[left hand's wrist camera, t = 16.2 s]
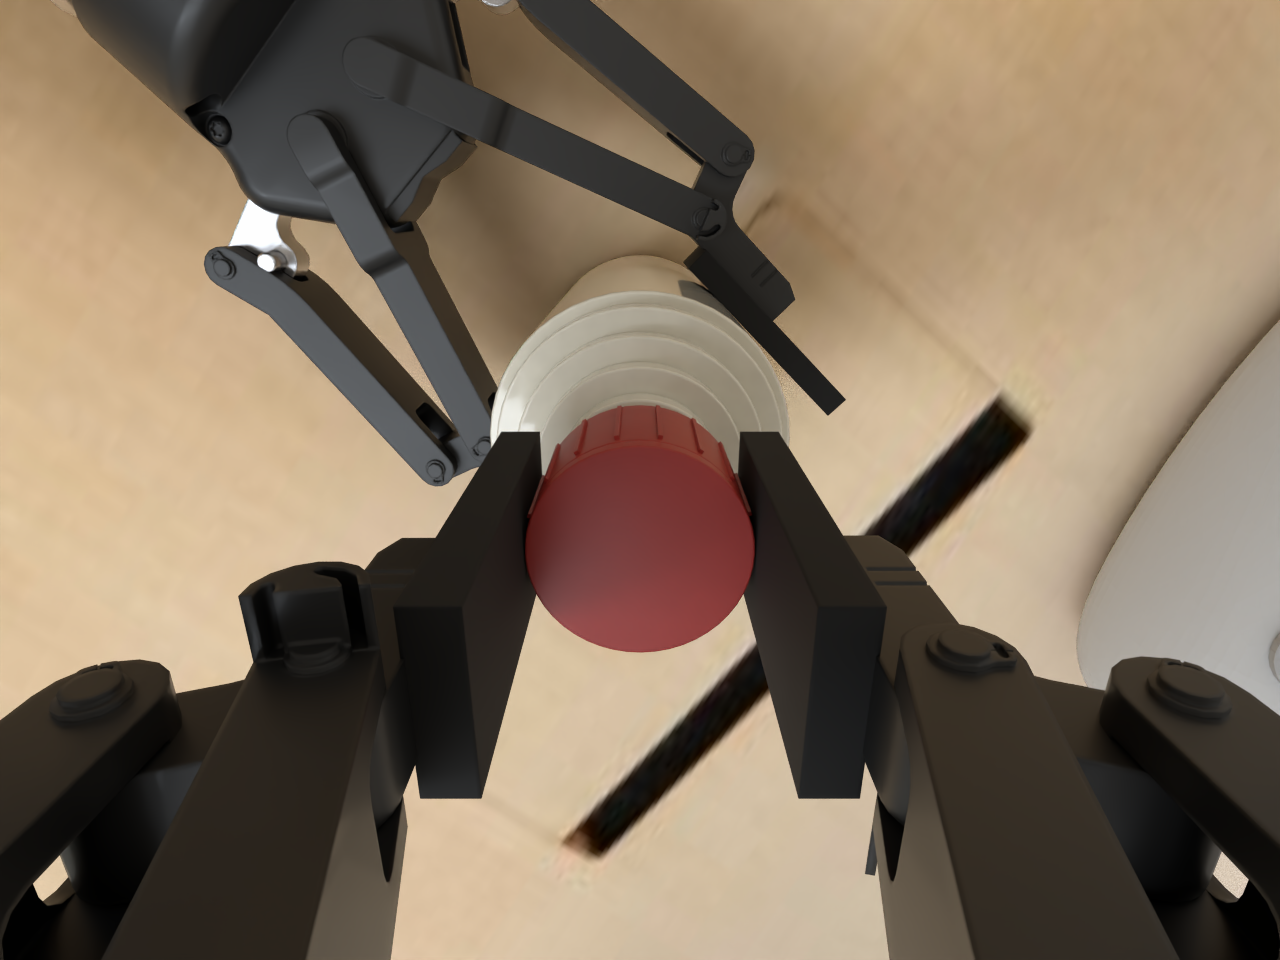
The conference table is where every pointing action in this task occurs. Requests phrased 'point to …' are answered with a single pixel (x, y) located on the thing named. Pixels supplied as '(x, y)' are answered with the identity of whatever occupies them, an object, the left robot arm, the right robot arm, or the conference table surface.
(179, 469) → the conference table surface
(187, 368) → the conference table surface
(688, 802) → the conference table surface
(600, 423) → the cap
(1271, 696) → the projector
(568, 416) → the bottle
